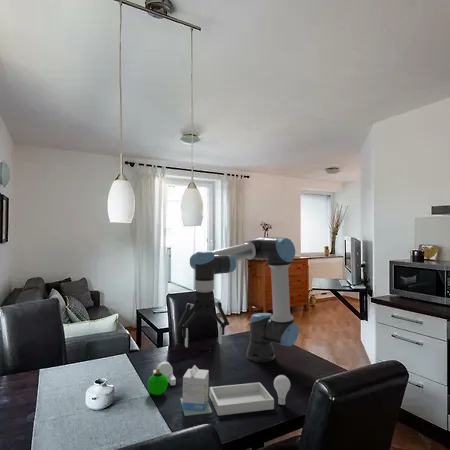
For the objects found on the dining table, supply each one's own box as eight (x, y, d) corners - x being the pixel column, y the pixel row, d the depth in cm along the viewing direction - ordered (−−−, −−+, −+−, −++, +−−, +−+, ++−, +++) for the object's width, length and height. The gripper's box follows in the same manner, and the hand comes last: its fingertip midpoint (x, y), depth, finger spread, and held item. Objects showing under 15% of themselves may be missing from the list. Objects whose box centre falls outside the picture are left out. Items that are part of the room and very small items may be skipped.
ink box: (204, 411, 118) (205, 374, 119) (181, 409, 119) (182, 372, 120) (208, 400, 127) (209, 365, 127) (187, 398, 128) (188, 363, 128)
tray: (259, 390, 136) (259, 382, 137) (273, 408, 122) (274, 399, 122) (209, 396, 131) (209, 387, 131) (218, 415, 117) (218, 405, 117)
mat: (205, 396, 130) (205, 395, 130) (212, 412, 118) (212, 411, 119) (180, 399, 127) (180, 398, 127) (184, 415, 116) (184, 414, 116)
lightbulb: (271, 400, 128) (272, 372, 129) (287, 400, 129) (287, 372, 129) (275, 409, 122) (276, 379, 123) (292, 408, 123) (292, 379, 123)
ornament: (148, 389, 135) (149, 365, 135) (168, 389, 135) (169, 365, 136) (145, 399, 127) (146, 373, 127) (166, 399, 127) (167, 373, 128)
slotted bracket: (152, 375, 149) (153, 358, 149) (167, 373, 152) (167, 356, 152) (160, 388, 137) (160, 369, 137) (176, 385, 140) (176, 366, 140)
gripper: (231, 287, 136) (231, 339, 135) (171, 289, 129) (170, 343, 129) (237, 291, 128) (236, 345, 128) (173, 293, 122) (172, 350, 121)
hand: (203, 344), depth 128 cm, fingers open, 13 cm apart
